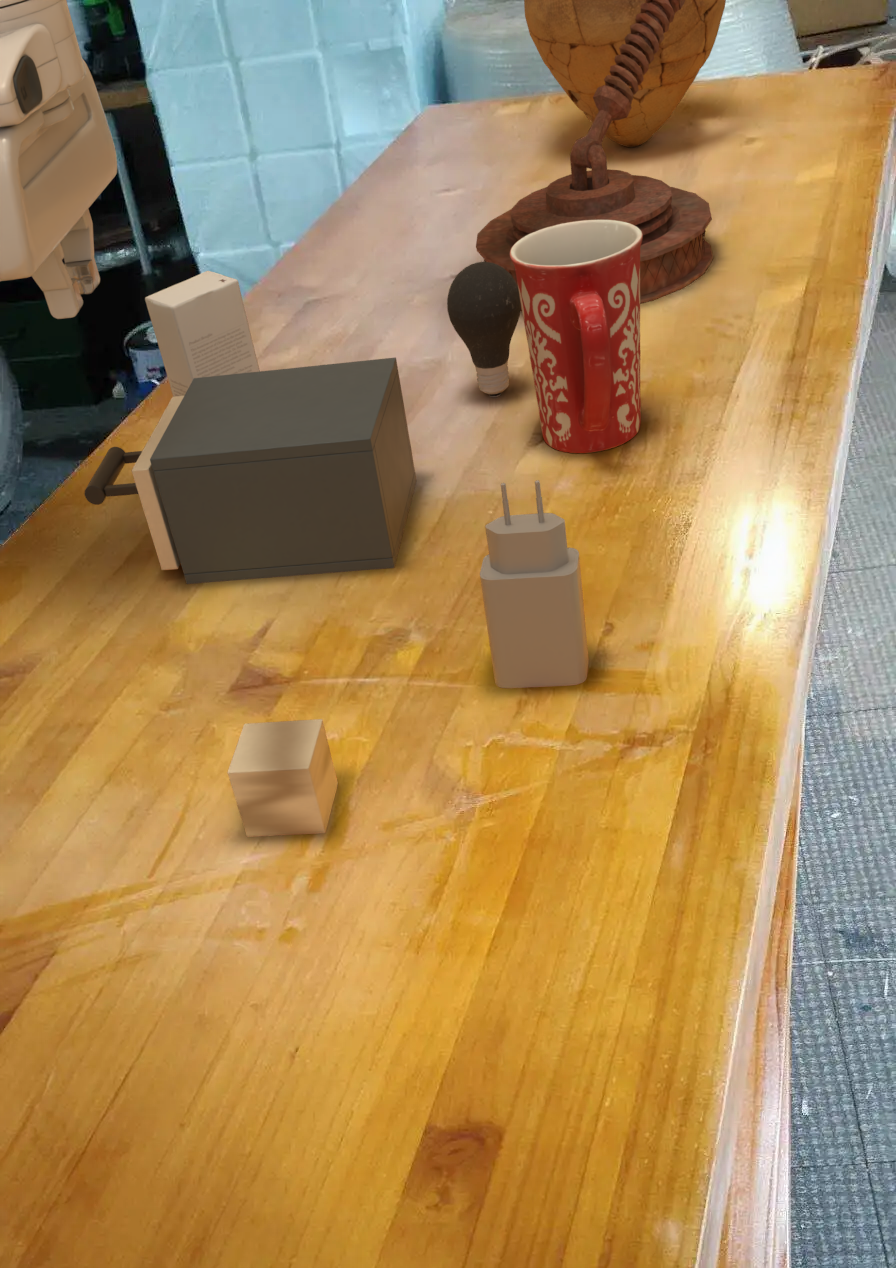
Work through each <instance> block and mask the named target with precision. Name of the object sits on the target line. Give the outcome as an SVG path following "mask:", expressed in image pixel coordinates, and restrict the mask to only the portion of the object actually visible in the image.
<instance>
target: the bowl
mask: <svg viewBox="0 0 896 1268" xmlns="http://www.w3.org/2000/svg"><path fill="white" fill-rule="evenodd" d="M645 1H646V0H523V4H524V5H523V7H524V8H523V9H524V17H525V22H526V26H527V29H528V33H529V36H530V38H531V40H532V42H533V44H534V46H535V48H536V50H537V52H538V54H539V56H540V58H541V60H542V62H543V64H544V65H545V66H546V67H547V69H548V70H549V71H550V73H551V75H552V77H553V78H554V80H556V82H557V83H558V85H559V86H560V87H561V88H562V90H563V91H564V92H565V94H566V95H567V96H568V98H569V99H570V100H571V101H572V102H573V103H574V105H575V106H576V107H577V108H578V110H580V111H581V112H582V113H583V114H584V115H585V117H586V118H587V120H589V122H590V123H591V125H592V124H593V122H594V120H595V118H596V116H597V114H598V112H599V111H598V109H597V107H596V105H595V102H594V99H593V96H594V94H595V92H596V90H597V88H598V87H601V86H603V85H605V81H604V79H605V77H606V76H607V75H611V73H610V66H612V65H616V63H615V56H617V55H621V54H620V49H619V48H620V46H621V45H622V44H626V43H625V37H626V36H627V35H628V34H629V33H631V30H630V26H631V25H633V24H636V21H635V19H636V15H637V14H639V13H640V6H641V4H642V3H646V2H645ZM726 2H727V0H686V1H685V3H684V4H683V6H682V8H681V9H680V10H678V11H677V12H676V13H675V15H674V19H673V22H671V23H670V25H669V30H668V31H667V32H665V33H664V40H663V41H662V42H661V43H659V50H658V51H657V52H656V53H655V54H654V60H653V61H652V62H651V63H650V64H649V67H648V71H647V72H646V74H645V75H643V78H644V80H643V82H642V83H641V84H640V85H638V89H639V90H638V92H637V93H636V94H634V95H633V100H632V104H631V110H630V112H629V114H628V116H627V118H624V119H621V120H614V121H612V122H611V124H610V126H609V128H608V130H607V132H606V134H605V136H604V137H606V138H607V139H609V140H611V141H613V142H615V143H616V144H619V145H621V146H623V147H627V148H636V147H638V146H641V145H643V144H644V143H647V142H648V141H649V140H650V139H651V138H652V137H653V136H654V135H655V134H656V133H657V132H658V131H659V130H660V128H662V126H663V125H664V124H666V123H667V121H668V120H669V119H670V118H671V116H672V115H673V113H674V111H675V110H676V109H677V107H678V106H679V104H680V102H681V101H682V100H683V98H684V97H685V95H686V93H687V91H688V90H689V88H690V87H691V85H693V83H694V81H695V79H696V78H697V76H698V74H699V72H700V71H701V69H702V68H703V67H704V65H705V64H706V62H707V60H709V57H710V55H711V53H712V50H713V47H714V46H715V42H716V40H717V37H718V33H719V29H720V25H721V22H722V18H723V15H724V11H725V8H726ZM645 57H646V55H645ZM640 67H641V66H640ZM634 77H635V76H634ZM635 78H636V77H635ZM629 87H630V88H631V86H629ZM625 97H626V96H625Z"/></svg>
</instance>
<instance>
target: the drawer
mask: <svg viewBox="0 0 896 1268" xmlns="http://www.w3.org/2000/svg"><path fill="white" fill-rule="evenodd" d="M183 397H184V396H176V397H173V396H172V397H171V398H170V400H169V402H168V404H167V406H166V407H165V409H164V411H163V413H162V415H161V416H160V419H158V420H159V421H158V422H157V424H156V425H155V427H154V429H153V431H152V433H151V434H150V436H149V439H148V440H147V442H146V444H145V445H144V448H143V449H142V450H137V451H125V450H124V449H123V448H122V447H120V446H112V447H110V448H109V449H108V450H107V452H106V454H105V455H104V457H103V459H102V460H101V462H100V464H99V465H98V467H97V469H96V470H95V472H94V474H93V476H92V478H91V479H90V480H89V482H88V484H87V486H86V487H85V489H84V497H85V499H86V501H87V502H89V503H90V504H91V505H94V506H95V505H97V506H98V505H101V504H104V502H105V500H106V498H110V497H122V496H132V495H138V497H139V500H140V504H141V506H142V510H143V513H144V516H145V520H146V524H147V526H148V529H149V532H150V536H151V540H152V543H153V545H154V549H155V552H156V555H157V559H158V563H159V565H160V569H161V571H170V570H178V569H179V568H180V566H181V563H180V559H179V556H178V552H177V549H176V546H175V542H174V539H173V536H172V532H171V529H170V525H169V522H168V519H167V515H166V512H165V509H164V505H163V502H162V498H161V495H160V492H159V488H158V485H157V481H156V478H155V475H154V471H153V469H152V465H151V462H150V458H151V456H152V454H153V453H154V451H155V449H156V447H157V445H158V443H159V442H160V440H161V438H162V436H163V434H164V432H165V430H166V429H167V427H168V425H169V423H170V421H171V419H172V418H173V416H174V414H175V412H176V410H177V408H178V407H179V405H180V403H181V401H182V399H183ZM125 464H126V465H127V464H134V465H133V467H132V469H131V474H132V478H133V481H134V482H130V483H119V484H115V483H116V480H117V479H118V477H119V476H120V473H121V471H122V470H123V468H124V466H125Z"/></svg>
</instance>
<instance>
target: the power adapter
mask: <svg viewBox="0 0 896 1268" xmlns="http://www.w3.org/2000/svg"><path fill="white" fill-rule="evenodd" d="M534 488H535V496H536V497H535V502H536V510H537V511H536V513H525V514H511V513H510V503H509V499H508V493H507V485H506V483H505V482H501V483H500V489H501V498H502V502H501V503H502V509H503V515H502V516H499V517H497V518H496V519H494V520H492V521H490V522H488V523H486V524H485V526H484V527H485V535H486V543H487V550H488V554H487V555H485V556H484V557H483V559H482V563H481V567H480V571H479V579H480V586H481V593H482V601H483V608H484V613H485V620H486V628H487V635H488V642H489V649H490V656H491V664H492V671H493V678H494V684H495V686H496V687H498V688H501V689H520V688H522V689H524V688H539V687H540V688H543V687H564V686H566V687H567V686H569V687H570V686H577V685H580V684H582V683H584V682H586V680H587V678H588V671H589V661H590V660H589V651H588V639H587V638H588V637H587V627H586V616H585V605H584V593H583V582H582V573H581V571H582V570H581V559H580V552H579V550H578V549H577V548H574V547H568V541H567V540H568V539H567V529H566V519H564V518H563V517H561V516H559V515H557V514H555V513H553V512H544V503H543V497H542V491H541V489H542V488H541V482H540V480H539V479H537V480H535V481H534Z"/></svg>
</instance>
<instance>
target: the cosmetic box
mask: <svg viewBox="0 0 896 1268" xmlns="http://www.w3.org/2000/svg"><path fill="white" fill-rule="evenodd" d="M144 301H145V304H146V308H147V311H148V315H149V318H150V321H151V325H152V328H153V329H152V330H153V332H154V335H155V339H156V342H157V345H158V349H159V353H160V356H161V359H162V363H163V366H164V369H165V374H166V376H167V380H168V383H169V387H170V391H171V393H172V397H176V396H184V395H185V394H186V392H187V390H188V388H189V386H190V384H191V383H192V381H193V379H194V378H202V377H211V376H221V375H231V374H240V373H250V372H260V371H261V369H260V366H259V361H258V358H257V354H256V349H255V346H254V342H253V337H252V332H251V329H250V325H249V320H248V317H247V313H246V308H245V304H244V300H243V296H242V291H241V287H240V284H239V280H238V279H236V278H234V277H230V276H227V275H224V274H221V273H218V272H214V271H210V270H206V271H203V272H201V273H199V274H197V275H195V276H193V277H190V278H188V279H186V280H183V281H181V282H178V283H175V284H173V285H171V286H168V287H167V288H163V289H161V290H159V291H156V292H154V293H152V294H149V295H148V296H145V297H144Z"/></svg>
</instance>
